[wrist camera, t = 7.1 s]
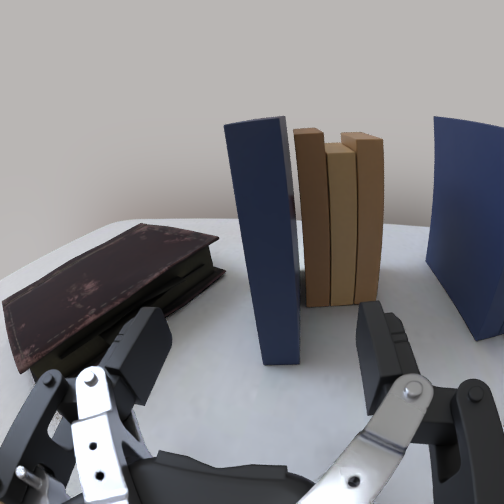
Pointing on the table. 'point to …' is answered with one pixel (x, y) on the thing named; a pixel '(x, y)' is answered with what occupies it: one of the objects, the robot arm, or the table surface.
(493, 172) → the navy book pair
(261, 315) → the navy book
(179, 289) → the diary
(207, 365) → the table surface
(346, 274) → the tan books
